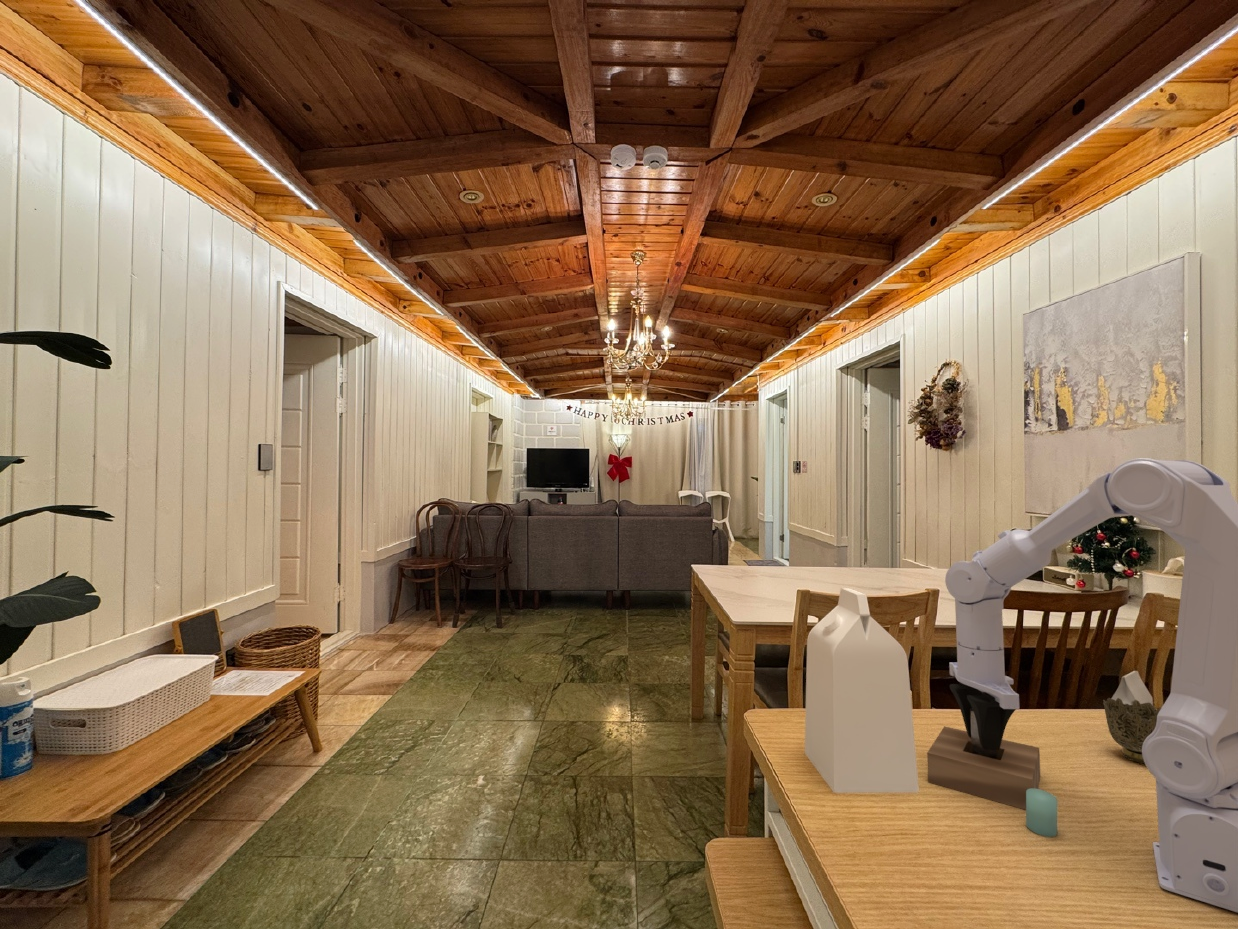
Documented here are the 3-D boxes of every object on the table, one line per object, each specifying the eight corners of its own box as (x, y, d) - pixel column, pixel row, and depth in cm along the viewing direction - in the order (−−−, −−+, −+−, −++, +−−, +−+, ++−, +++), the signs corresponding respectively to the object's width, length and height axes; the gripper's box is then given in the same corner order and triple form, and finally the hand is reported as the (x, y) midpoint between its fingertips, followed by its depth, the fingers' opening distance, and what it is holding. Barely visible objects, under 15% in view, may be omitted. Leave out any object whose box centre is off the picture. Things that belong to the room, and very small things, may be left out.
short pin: (1061, 839, 66) (1062, 805, 66) (1031, 834, 67) (1031, 800, 67) (1050, 823, 69) (1051, 790, 69) (1022, 818, 70) (1022, 786, 70)
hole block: (1033, 812, 72) (1032, 779, 72) (928, 782, 80) (927, 752, 80) (1040, 776, 81) (1039, 747, 81) (945, 752, 89) (944, 726, 89)
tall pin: (1001, 767, 79) (999, 715, 79) (979, 766, 79) (977, 715, 80) (989, 757, 82) (987, 708, 82) (967, 756, 82) (966, 707, 83)
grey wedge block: (1154, 733, 96) (1151, 673, 97) (1141, 743, 92) (1138, 680, 93) (1126, 726, 99) (1123, 668, 100) (1112, 735, 95) (1109, 674, 96)
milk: (919, 792, 77) (912, 598, 78) (834, 793, 77) (829, 598, 78) (878, 753, 89) (873, 585, 90) (804, 753, 89) (801, 585, 90)
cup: (1113, 764, 85) (1110, 709, 85) (1099, 745, 91) (1097, 694, 92) (1180, 775, 81) (1177, 718, 82) (1161, 755, 88) (1158, 702, 88)
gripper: (1042, 660, 74) (1047, 768, 73) (981, 634, 88) (985, 723, 88) (985, 659, 75) (989, 766, 74) (934, 633, 89) (937, 722, 88)
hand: (983, 743), depth 81 cm, fingers closed on tall pin, 3 cm apart
